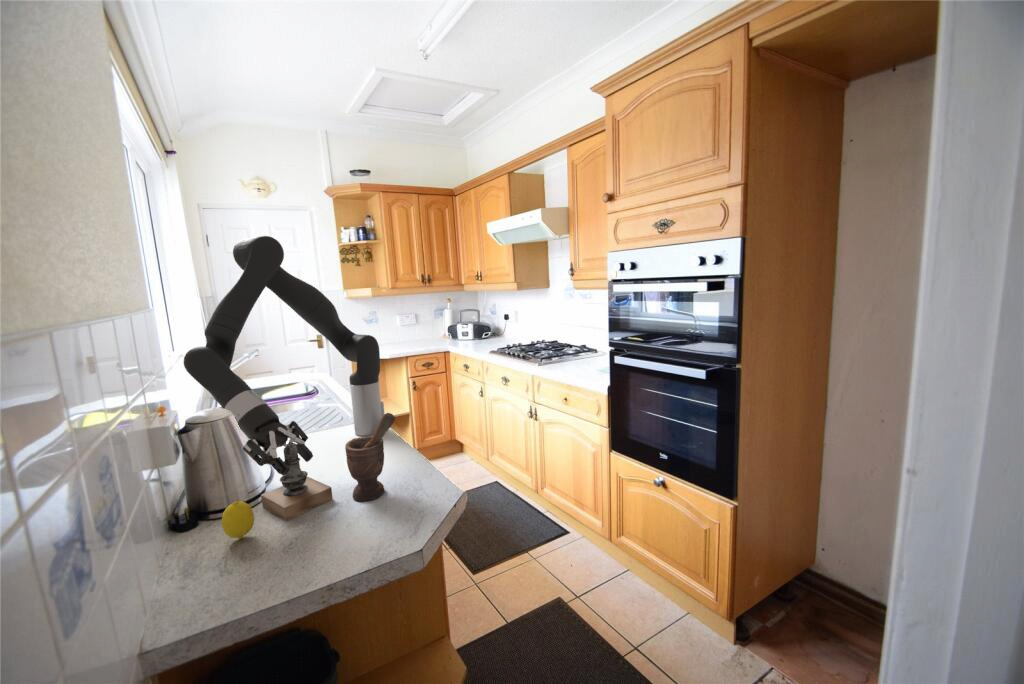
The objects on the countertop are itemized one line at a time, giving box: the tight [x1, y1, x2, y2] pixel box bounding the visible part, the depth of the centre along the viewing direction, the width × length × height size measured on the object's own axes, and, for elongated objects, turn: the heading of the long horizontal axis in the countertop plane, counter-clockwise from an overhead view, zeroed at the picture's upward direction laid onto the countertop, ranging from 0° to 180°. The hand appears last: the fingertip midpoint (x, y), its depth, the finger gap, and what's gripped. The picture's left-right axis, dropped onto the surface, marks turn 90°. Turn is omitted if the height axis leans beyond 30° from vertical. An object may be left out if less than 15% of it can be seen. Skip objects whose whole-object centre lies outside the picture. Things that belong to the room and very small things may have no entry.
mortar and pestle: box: [344, 412, 396, 502], centre depth 105 cm, size 12×9×20 cm
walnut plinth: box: [260, 475, 334, 521], centre depth 103 cm, size 11×11×3 cm
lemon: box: [221, 500, 255, 539], centre depth 89 cm, size 6×6×8 cm
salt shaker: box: [279, 442, 308, 496], centre depth 102 cm, size 6×6×12 cm
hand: (298, 465), depth 101 cm, fingers open, 6 cm apart
